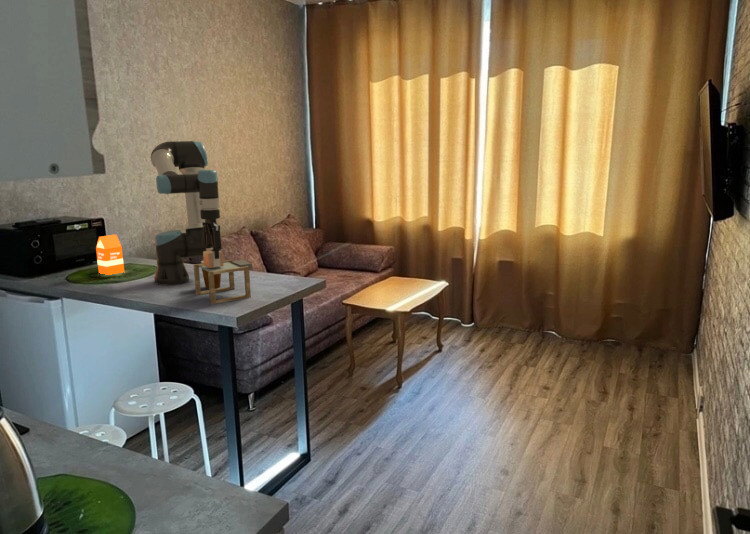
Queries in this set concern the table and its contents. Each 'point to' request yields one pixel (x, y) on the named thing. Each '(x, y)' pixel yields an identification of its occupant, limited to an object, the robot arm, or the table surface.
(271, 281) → the table surface
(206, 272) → the disposable coffee cup
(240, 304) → the table surface
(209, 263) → the block
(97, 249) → the orange juice
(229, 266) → the trapdoor
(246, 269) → the frame
